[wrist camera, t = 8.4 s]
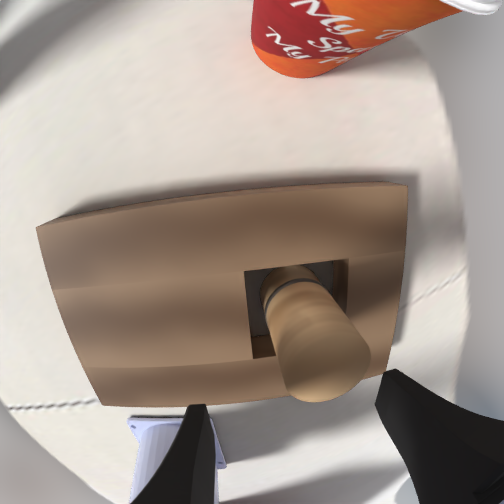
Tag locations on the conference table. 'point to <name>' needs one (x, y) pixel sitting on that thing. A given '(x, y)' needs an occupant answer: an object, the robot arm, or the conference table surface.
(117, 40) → the conference table surface
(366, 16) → the paper cup
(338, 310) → the peg
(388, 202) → the socket board
